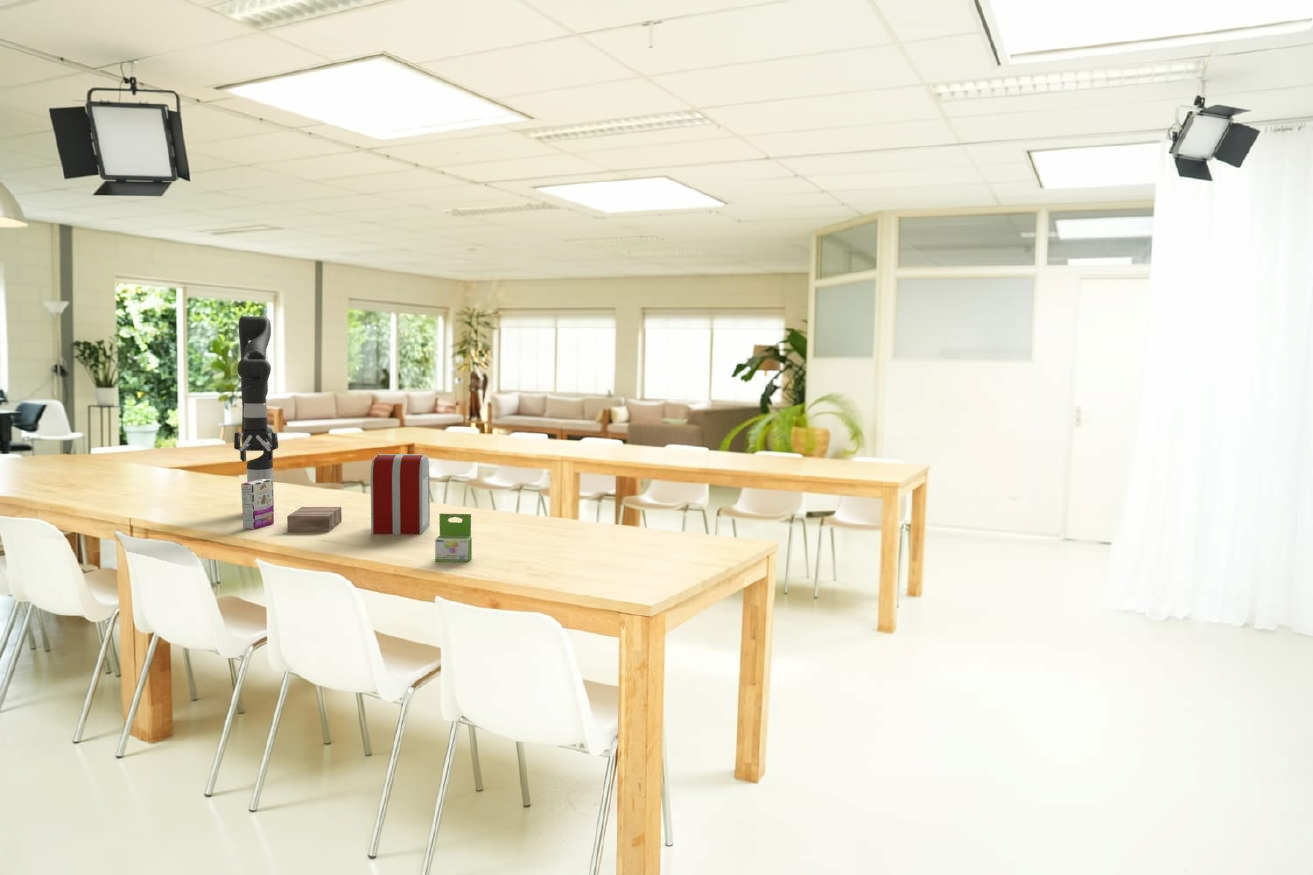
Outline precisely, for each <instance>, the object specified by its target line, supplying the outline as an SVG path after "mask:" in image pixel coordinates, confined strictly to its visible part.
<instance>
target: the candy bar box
mask: <svg viewBox="0 0 1313 875" xmlns="http://www.w3.org/2000/svg"><path fill="white" fill-rule="evenodd" d="M240 485H241V487H240V488H241V508H242V509H241V510H242V529H243V528H246V529H245V530H258V529H261V528H265V527H267V526H270V525H273V524H275V520H274V518H275V517H274V512H273V488H272V479H259V480H255V481H250V482H247V481H246V482H242V483H241V484H240ZM260 527H261V528H260ZM257 528H258V529H257Z"/></svg>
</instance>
